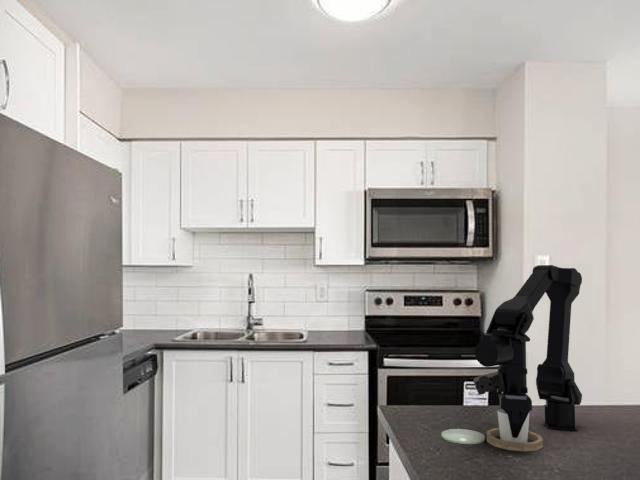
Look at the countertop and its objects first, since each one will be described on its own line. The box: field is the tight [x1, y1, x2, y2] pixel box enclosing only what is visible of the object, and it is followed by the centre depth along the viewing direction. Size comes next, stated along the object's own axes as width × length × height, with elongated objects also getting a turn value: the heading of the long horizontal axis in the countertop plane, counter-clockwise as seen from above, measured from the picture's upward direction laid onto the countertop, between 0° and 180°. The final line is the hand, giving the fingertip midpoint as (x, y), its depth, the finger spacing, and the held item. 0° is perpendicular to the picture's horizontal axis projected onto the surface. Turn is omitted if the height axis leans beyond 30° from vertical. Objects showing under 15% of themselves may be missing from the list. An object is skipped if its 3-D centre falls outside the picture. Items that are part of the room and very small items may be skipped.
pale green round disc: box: [441, 428, 486, 445], centre depth 120 cm, size 10×10×1 cm
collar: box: [486, 427, 544, 452], centre depth 116 cm, size 12×12×2 cm
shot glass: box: [496, 407, 531, 443], centre depth 117 cm, size 7×7×7 cm
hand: (513, 433), depth 117 cm, fingers closed on shot glass, 6 cm apart
